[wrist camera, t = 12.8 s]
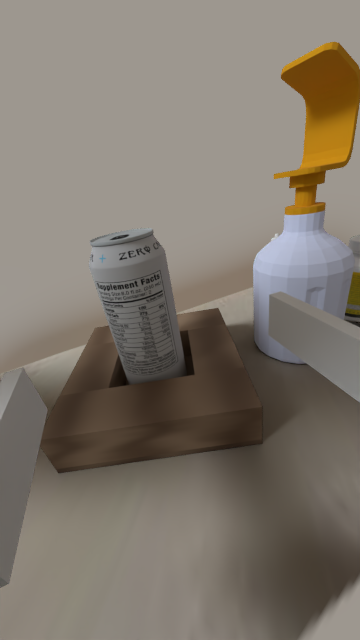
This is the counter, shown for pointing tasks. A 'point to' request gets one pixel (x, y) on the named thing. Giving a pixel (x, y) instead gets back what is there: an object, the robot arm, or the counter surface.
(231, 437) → the holder block
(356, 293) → the supplement bottle
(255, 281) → the soap bottle
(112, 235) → the energy drink can
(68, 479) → the counter surface
